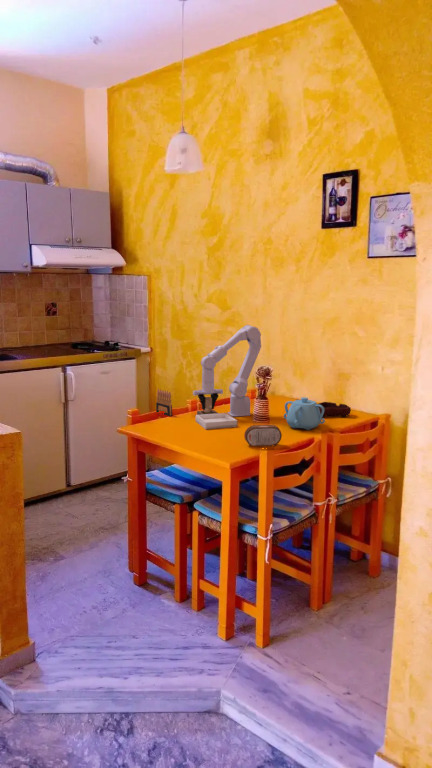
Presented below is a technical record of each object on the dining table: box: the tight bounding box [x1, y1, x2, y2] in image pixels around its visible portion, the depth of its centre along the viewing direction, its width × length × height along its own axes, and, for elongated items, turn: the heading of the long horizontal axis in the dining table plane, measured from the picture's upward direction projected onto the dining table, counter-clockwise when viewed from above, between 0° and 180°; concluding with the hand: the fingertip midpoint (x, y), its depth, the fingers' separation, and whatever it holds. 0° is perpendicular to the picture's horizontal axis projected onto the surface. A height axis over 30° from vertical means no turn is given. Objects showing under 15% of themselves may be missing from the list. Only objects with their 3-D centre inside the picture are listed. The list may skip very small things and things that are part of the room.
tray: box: [195, 412, 238, 430], centre depth 269 cm, size 15×15×3 cm
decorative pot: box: [283, 396, 326, 431], centre depth 265 cm, size 16×16×14 cm
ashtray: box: [318, 401, 351, 418], centre depth 290 cm, size 18×16×5 cm
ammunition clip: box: [155, 388, 173, 417], centre depth 287 cm, size 11×2×12 cm, turn 43°
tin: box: [243, 424, 283, 447], centre depth 236 cm, size 15×3×8 cm, turn 99°
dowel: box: [203, 396, 213, 414], centre depth 283 cm, size 4×4×9 cm
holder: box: [196, 409, 218, 415], centre depth 284 cm, size 8×8×2 cm
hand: (207, 409), depth 283 cm, fingers closed on dowel, 4 cm apart
